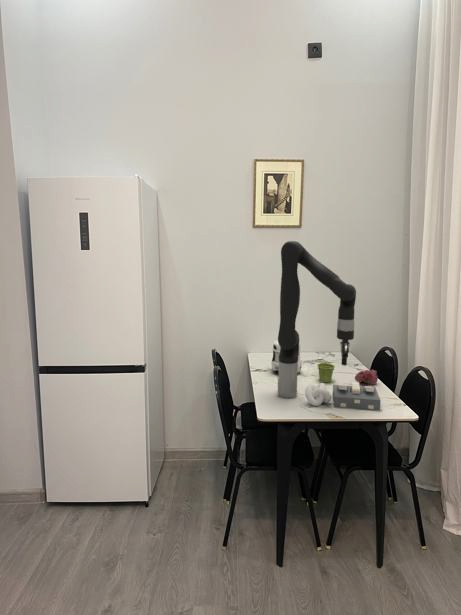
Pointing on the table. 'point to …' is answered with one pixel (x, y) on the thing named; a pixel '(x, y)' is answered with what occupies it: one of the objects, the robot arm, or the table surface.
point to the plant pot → (325, 372)
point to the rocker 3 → (369, 388)
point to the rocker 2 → (355, 388)
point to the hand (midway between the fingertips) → (344, 364)
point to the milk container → (276, 357)
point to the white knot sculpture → (317, 394)
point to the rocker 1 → (342, 387)
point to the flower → (367, 377)
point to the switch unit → (356, 398)
